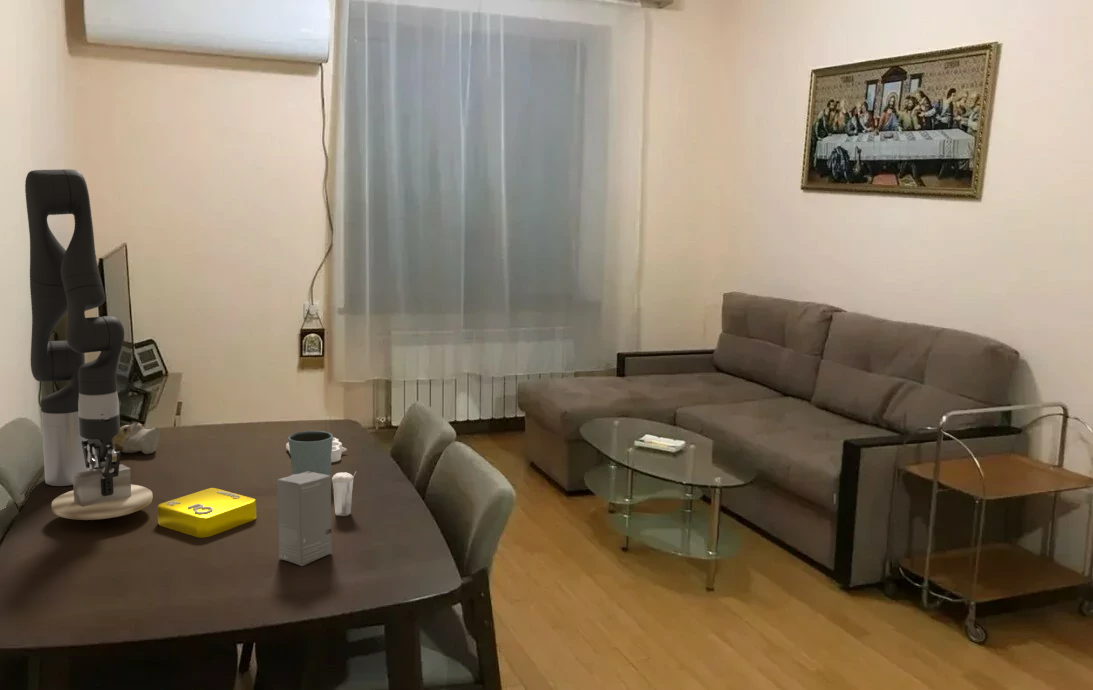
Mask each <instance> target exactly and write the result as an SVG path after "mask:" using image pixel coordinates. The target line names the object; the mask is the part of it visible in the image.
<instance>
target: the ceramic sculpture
mask: <svg viewBox="0 0 1093 690" xmlns="http://www.w3.org/2000/svg"><path fill="white" fill-rule="evenodd" d="M159 442H160V428H159V426H155V427H152V428H145V427H144V426H143V424H142V423H140V422H138V421H135V420H131V421H130V422H129V424H125V425H122V426H120V433H119V434H118V435H117V436H114V437H113V444H114V448H115V452H118V451H120V453H125V454H126V453H127V454H129V453H130V454H133V453H137V452H142V453H143V454H145V455H151V454H153V453H154V452H155V451H156V449H157V447H158V445H159V444H158V443H159Z"/></svg>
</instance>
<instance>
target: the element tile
mask: <svg viewBox="0 0 1093 690" xmlns="http://www.w3.org/2000/svg"><path fill="white" fill-rule="evenodd" d="M256 519H257V500H256V499H255V498H253V497H249V496H245V495H242V494H238V493H233V492H231V491H227V490H223V489H220V488H215V487H210V488H206V489H202V490H200V491H197V492H193V493H190V494H187V495H184V496H180V497H178V498H174V499H171V500H170V499H169V500H167V501H165V502H161V503H159V504H158V505H157V522H158V525H159V526H160V527H164V528H167V529H170V530H173V531H176V532H180V533H183V534H186V535H189V536H193V537H196V538H208V537H209V538H210V537H212V536H215V535H219V534H220V533H223V532H226V531H229V530H232V529H234V528H236V527H238V526H243V525H244V524H247V523H250V522H252V521H255V520H256Z"/></svg>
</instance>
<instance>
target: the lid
mask: <svg viewBox="0 0 1093 690" xmlns="http://www.w3.org/2000/svg"><path fill="white" fill-rule="evenodd" d="M104 469H105V468H104ZM109 472H110V471H109ZM72 486H73V487H72V489H73V490H70V491H67V492H65V493H62V494H60V495H58V496H57V497H55V498H54V499H53V500H52V501H51V511H52V513H53V514H54V515H56V516H57V517H61V518H64V519H70V520H78V521H79V520H80V521H81V520H82V521H88V520H89V521H90V520H91V521H93V520H105V519H111V518H119V517H122V516H127V515H130V514H133V513H135V512H139V511H141V510H142V509H145V508H147V507H148V506H149V505H150V504H151V503H152V502H153V500H154V499H153V491H152V490H151V489H150V488H147V487H145V486H142V485H138V484H132V479H131V468H130V467H129V466H126V465H125V464H121V463H120V465H119V474H118V476H117V477H113V494H112V495H109V496H103V495H102V494H101V477H100V471H99V469H95V470H90V471H85V472H80V473H75V474H73V485H72Z"/></svg>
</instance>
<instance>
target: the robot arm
mask: <svg viewBox="0 0 1093 690" xmlns="http://www.w3.org/2000/svg"><path fill="white" fill-rule="evenodd" d="M24 188H25V189H24V192H25V203H26V212H27V213H26V214H27V221H28V232H29V233H28V234H29V290H30V304H31V338H30V339H31V342H30V343H31V345H30V370H31V374H32V376H33V378H34V380H36V381H37V382H42V383H44V382H45V383H49V382H51V383H52V382H61V381H62V382H63V381H68V383H67V384H66V385H65V386H64V387H62V388H60V389H59V390H57V391H54V392H53V393H49V394H47V395H45V396H43V397H42V399H41V400H40V412H41V414H40V415H41V427H42V428H41V429H42V431H41V432H42V445H43V447H42V448H43V463H44V464H43V465H44V466H43V467H44V468H43V469H44V483H45V484H46V485H49V486H52V487H54V486H55V487H66V486H73V474H75V473H80V472H85V471H90V470H95V469H99V471H100V477H101V494H102V495H103V496H109V495H112V494H113V477H117V476H118V474H119V465H120V464H121V456H122V452H121V451H118V452H115V448H114V444H113V441H114V436H117V435H118V434H119V433H120V427H121V424H120V423H121V422H120V421H121V419H120V402H119V401H120V399H119V395H118V384H117V382H118V381H117V379H118V378H117V372H118V371H117V370H118V365H119V361H120V355H121V352H122V349H123V344H124V342H125V341H124V340H125V329H124V326H123V324H122V322H121V320H120V319H119V318H118V317H115V316H111V315H105V316H94V317H86V313H85V312H86V311H90V310H93V309H96V308H99V307H100V306H103V304H104V303H105V302H106V295H105V294H106V293H105V290H104V285H103V282H102V277H101V275H100V271H99V265H98V261H97V255H96V247H95V245H96V244H95V236H94V227H93V226H94V224H93V218H92V217H93V216H92V209H91V202H90V201H91V199H90V194H89V188H88V185H87V181H86V179H85V177H84V174H82V172H80V171H79V170H77V169H69V168H68V169H65V168H64V169H35V170H34V169H33V170H31V171H29V172H28V173H27V175H26V177H25V184H24ZM57 215H58V216H59V215H73V218H74V230H73V234H72V237H71V240H70V242H69V243H68V246H67V248H66V249H65V248H64V246H63V245H62V244H61V243H60V242H59V240H58V239H57V238H56V236H55V235H54V233H53V232H52V230H51V229H50V227H49V223H48V222H49V221H48V217H49V216H57ZM66 313H67V314H66ZM65 315H67V318H66V329H65V340H50V338H51V335H52V333H53V330H55V327H56V326H57V324H58V323H59V322H60V320H61V319H62V318H63V317H64V316H65ZM96 352H99V355H98V356H97V358H96V359H94V360H91V361H89V362H86V358H85V357H86V356H85V354H87V353H96ZM104 468H105V469H104ZM109 471H110V472H109Z"/></svg>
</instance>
